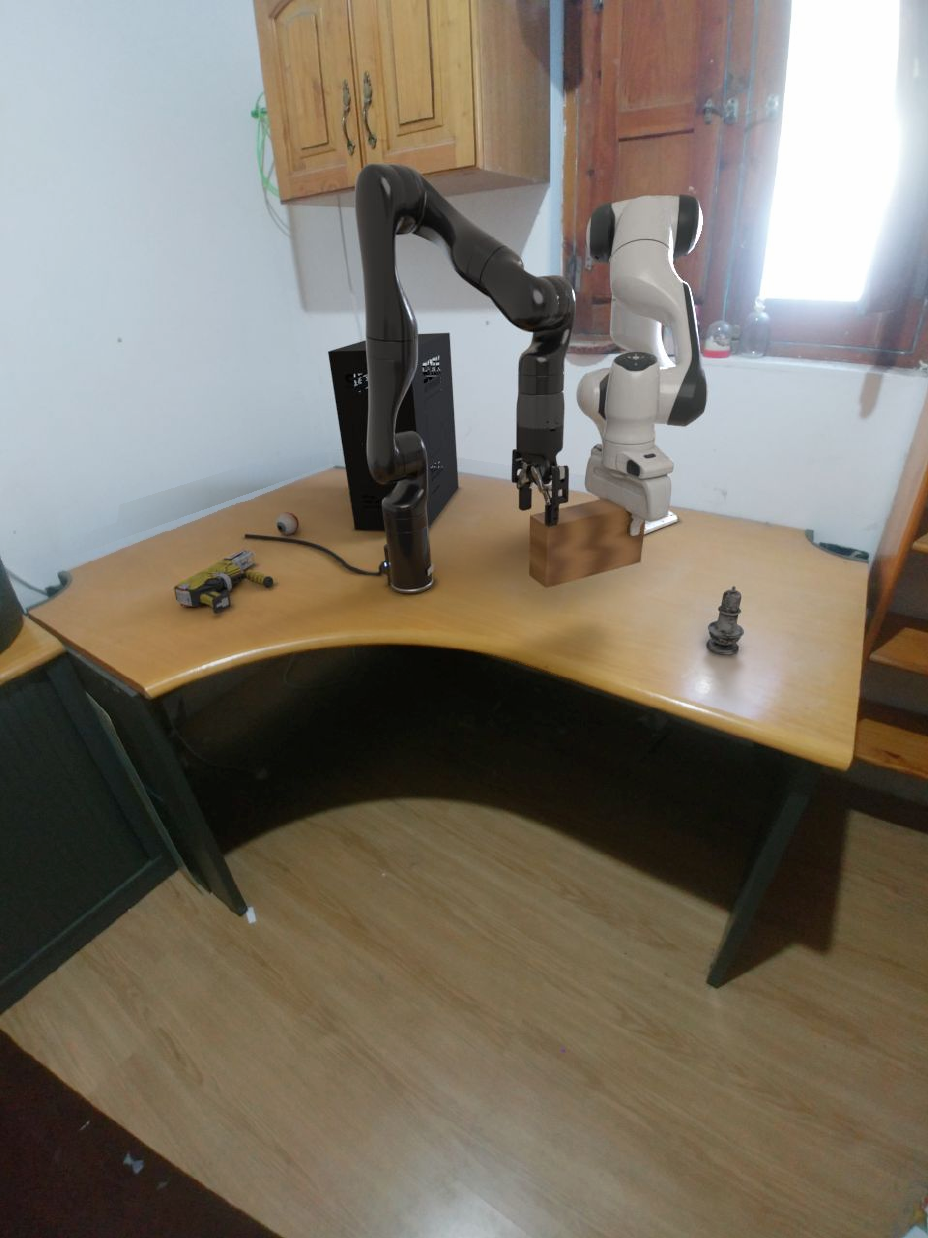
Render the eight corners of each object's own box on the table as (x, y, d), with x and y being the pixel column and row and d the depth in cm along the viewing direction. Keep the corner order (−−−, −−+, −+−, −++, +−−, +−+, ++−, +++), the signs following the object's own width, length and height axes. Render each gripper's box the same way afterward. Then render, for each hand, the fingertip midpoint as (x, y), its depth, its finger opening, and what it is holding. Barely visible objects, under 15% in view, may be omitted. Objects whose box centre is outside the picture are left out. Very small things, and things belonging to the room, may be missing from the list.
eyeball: (273, 537, 164) (268, 516, 161) (287, 528, 169) (282, 508, 166) (291, 539, 161) (286, 518, 158) (305, 530, 166) (301, 510, 163)
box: (621, 550, 120) (627, 493, 114) (640, 562, 115) (647, 502, 109) (528, 575, 113) (529, 515, 107) (545, 588, 108) (547, 526, 102)
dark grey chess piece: (743, 656, 104) (756, 594, 98) (707, 654, 105) (718, 593, 99) (737, 638, 109) (749, 578, 103) (702, 636, 110) (712, 577, 104)
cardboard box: (425, 532, 161) (409, 348, 139) (354, 529, 166) (327, 351, 143) (458, 487, 193) (449, 332, 170) (398, 486, 197) (382, 335, 175)
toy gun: (294, 557, 143) (240, 546, 147) (227, 600, 123) (168, 586, 127) (295, 575, 145) (243, 564, 149) (230, 620, 125) (172, 606, 129)
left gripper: (497, 415, 100) (499, 508, 108) (543, 433, 89) (541, 535, 97) (536, 409, 102) (535, 501, 111) (586, 426, 91) (580, 526, 100)
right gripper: (578, 443, 113) (575, 513, 120) (650, 472, 97) (641, 550, 104) (606, 438, 115) (601, 507, 122) (681, 465, 99) (670, 543, 106)
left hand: (537, 517), depth 104 cm, fingers open, 8 cm apart
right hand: (620, 527), depth 113 cm, fingers closed on box, 6 cm apart
